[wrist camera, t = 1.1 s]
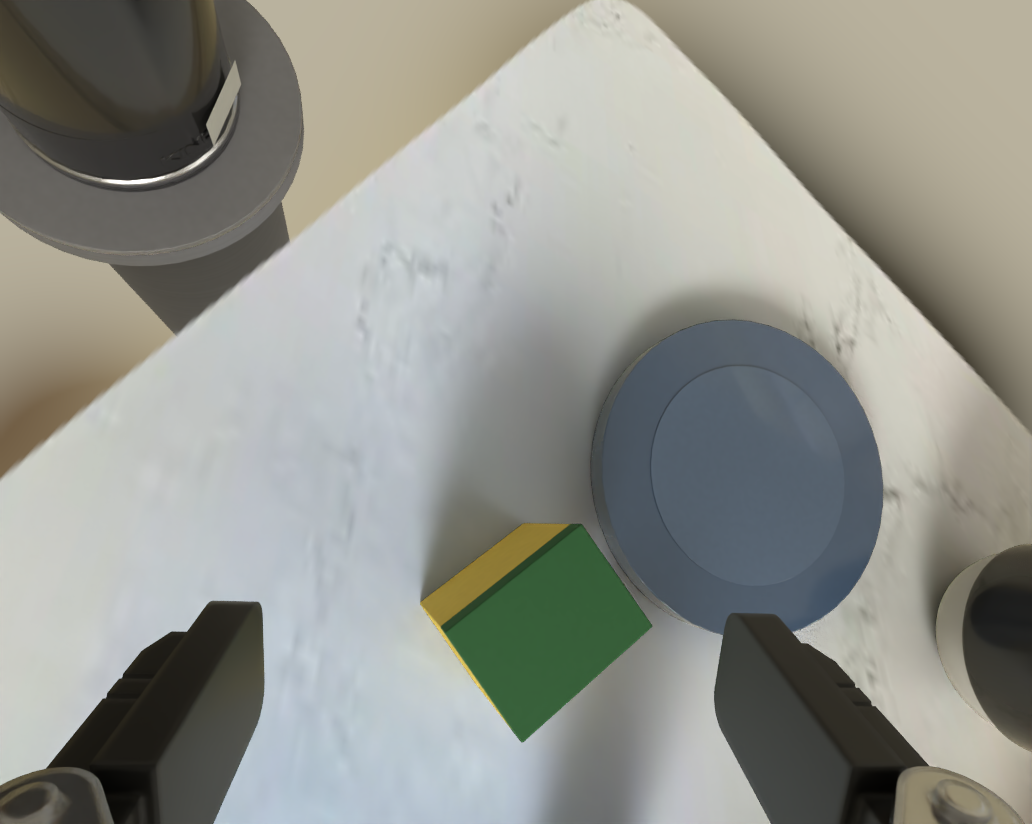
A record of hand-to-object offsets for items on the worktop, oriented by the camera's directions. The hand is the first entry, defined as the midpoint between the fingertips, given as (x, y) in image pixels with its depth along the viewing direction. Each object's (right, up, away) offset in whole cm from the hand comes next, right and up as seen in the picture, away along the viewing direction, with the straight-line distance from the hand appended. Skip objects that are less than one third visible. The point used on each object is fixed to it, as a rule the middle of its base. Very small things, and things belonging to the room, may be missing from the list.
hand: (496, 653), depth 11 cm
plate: (+12, +1, +23) cm, 26 cm away
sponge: (0, -5, +19) cm, 19 cm away
